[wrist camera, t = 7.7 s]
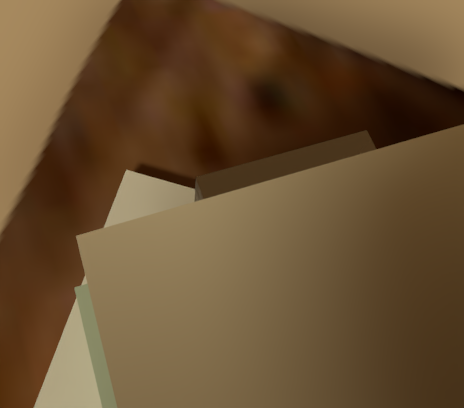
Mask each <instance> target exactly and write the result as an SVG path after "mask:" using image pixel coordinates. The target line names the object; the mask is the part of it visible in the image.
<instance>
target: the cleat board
mask: <svg viewBox="0 0 464 408" xmlns="http://www.w3.org/2000/svg"><path fill="white" fill-rule="evenodd" d="M194 200H195V189H193V188H189V187H185V186H182V185H178V184H175V183H171V182H168V181H164V180H161V179H157V178H154V177H150V176H147V175H143V174H140V173H136V172H132V171H129V170H126V172H125V174H124V177H123V180H122V182H121V185H120V187H119V190H118V192H117V195H116V198H115V200H114V203H113V205H112V208H111V210H110V213H109V216H108V218H107V221H106V223H105V226H104V228H106V227H109V226H112V225H116V224H119V223H123V222H126V221H130V220H133V219H137V218H140V217H144V216H147V215H151V214H154V213H158V212H161V211H165V210H168V209H171V208H175V207H178V206H182V205H185V204H189V203H192V202H194ZM74 289H75V293H76V297H77V298H76V300H75V303H74V306H73V308H72V311H71V313H70V316H69V318H68V321H67V324H66V326H65V329H64V331H63V334H62V336H61V339H60V342H59V344H58V347H57V349H56V352H55V354H54V357H53V360H52V362H51V365H50V367H49V370H48V372H47V375H46V378H45V380H44V383H43V385H42V388H41V390H40V393H39V396H38V398H37V401H36V403H35V406H34V408H117V404H116V400H115V396H114V392H113V387H112V383H111V379H110V375H109V371H108V367H107V363H106V358H105V354H104V350H103V346H102V342H101V338H100V333H99V329H98V325H97V321H96V317H95V313H94V309H93V304H92V300H91V296H90V292H89V288H88V284H87V280H86V275H85V277H84V280H83V282H82V285H81V286H78V287H75V288H74Z"/></svg>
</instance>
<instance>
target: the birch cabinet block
mask: <svg viewBox="0 0 464 408" xmlns="http://www.w3.org/2000/svg"><path fill="white" fill-rule="evenodd" d="M76 238H77V242H78V246H79V250H80V255H81V259H82V263H83V267H84V271H85V275H86V280H87V284H88V288H89V292H90V296H91V300H92V304H93V309H94V313H95V317H96V321H97V325H98V329H99V333H100V338H101V342H102V346H103V350H104V354H105V358H106V363H107V367H108V371H109V375H110V379H111V383H112V387H113V392H114V396H115V400H116V404H117V408H464V124H463V125H460V126H456V127H453V128H449V129H446V130H442V131H439V132H435V133H432V134H428V135H425V136H421V137H418V138H414V139H411V140H407V141H404V142H401V143H397V144H394V145H390V146H387V147H383V148H380V149H376V147H375V145H374V143H373V141H372V139H371V137H370V135H369V133H368V131H367V130H365V131H361V132H358V133H354V134H351V135H347V136H343V137H340V138H336V139H332V140H329V141H325V142H322V143H318V144H314V145H311V146H307V147H303V148H300V149H296V150H293V151H289V152H285V153H282V154H278V155H274V156H271V157H267V158H264V159H260V160H256V161H253V162H249V163H245V164H242V165H238V166H235V167H231V168H227V169H224V170H220V171H216V172H213V173H209V174H206V175H202V176H198V177H196V183H195V200H194V202H192V203H189V204H185V205H182V206H178V207H175V208H171V209H168V210H165V211H161V212H158V213H154V214H151V215H147V216H144V217H140V218H137V219H133V220H130V221H126V222H123V223H119V224H116V225H112V226H109V227H106V228H102V229H99V230H95V231H92V232H88V233H85V234H81V235H78V236H76Z"/></svg>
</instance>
